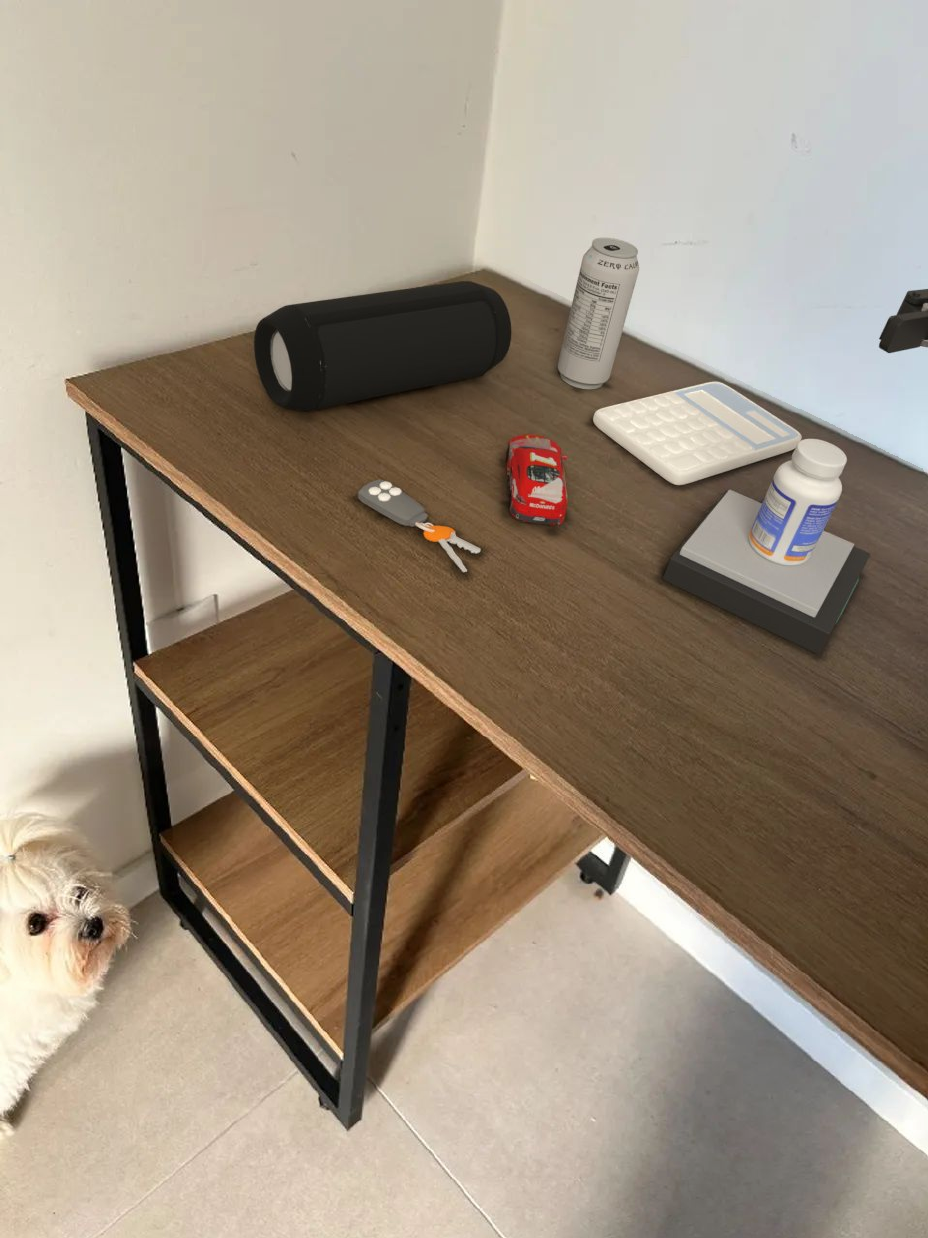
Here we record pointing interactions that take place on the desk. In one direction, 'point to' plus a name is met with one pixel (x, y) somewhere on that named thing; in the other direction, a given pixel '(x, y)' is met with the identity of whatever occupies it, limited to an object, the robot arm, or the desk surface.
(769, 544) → the pill bottle
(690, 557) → the scale
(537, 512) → the race car
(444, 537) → the key chain
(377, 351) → the portable speaker
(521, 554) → the desk surface
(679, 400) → the calculator
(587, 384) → the energy drink can
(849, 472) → the desk surface
